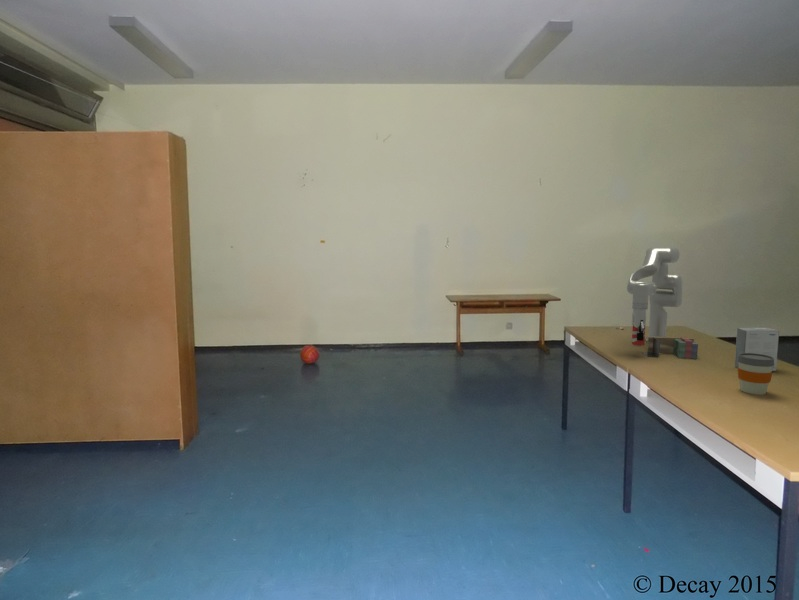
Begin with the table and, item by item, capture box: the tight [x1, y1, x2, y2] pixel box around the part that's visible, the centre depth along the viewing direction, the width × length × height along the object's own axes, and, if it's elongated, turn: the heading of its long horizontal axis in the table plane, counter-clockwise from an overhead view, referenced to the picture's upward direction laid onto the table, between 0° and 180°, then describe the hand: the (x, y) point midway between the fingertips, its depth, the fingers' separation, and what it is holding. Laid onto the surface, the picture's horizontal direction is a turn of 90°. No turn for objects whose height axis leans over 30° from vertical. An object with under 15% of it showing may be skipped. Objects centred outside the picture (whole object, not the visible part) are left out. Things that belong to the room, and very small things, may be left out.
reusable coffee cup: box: [737, 353, 774, 396], centre depth 210 cm, size 13×13×15 cm
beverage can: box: [631, 325, 646, 347], centre depth 271 cm, size 6×6×12 cm
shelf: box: [646, 336, 699, 360], centre depth 274 cm, size 11×23×10 cm, turn 78°
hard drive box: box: [734, 327, 780, 372], centre depth 245 cm, size 16×8×20 cm, turn 84°
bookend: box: [642, 337, 660, 358], centre depth 275 cm, size 10×6×9 cm, turn 168°
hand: (638, 338), depth 272 cm, fingers closed on beverage can, 6 cm apart
